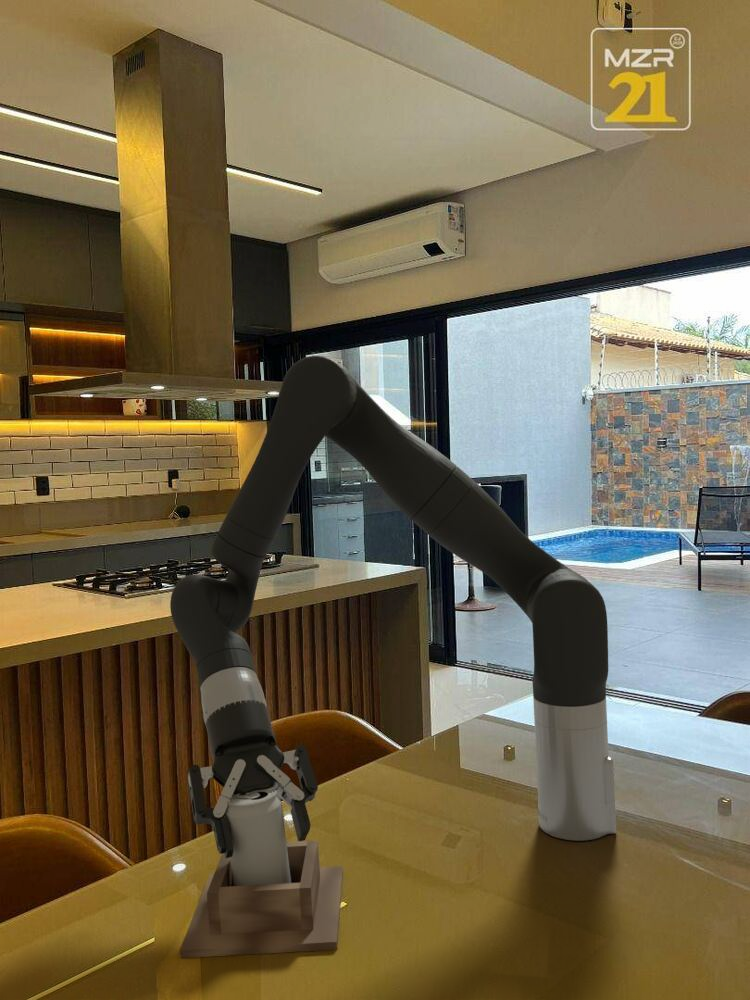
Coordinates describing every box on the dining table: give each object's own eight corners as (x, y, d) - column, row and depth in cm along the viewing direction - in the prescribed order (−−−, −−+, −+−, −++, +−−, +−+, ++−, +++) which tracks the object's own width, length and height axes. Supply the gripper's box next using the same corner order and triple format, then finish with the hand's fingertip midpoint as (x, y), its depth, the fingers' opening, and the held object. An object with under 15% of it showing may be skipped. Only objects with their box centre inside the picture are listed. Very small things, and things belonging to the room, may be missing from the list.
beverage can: (282, 913, 93) (269, 804, 93) (226, 914, 95) (213, 806, 94) (299, 885, 100) (287, 782, 99) (246, 886, 101) (234, 784, 101)
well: (343, 872, 104) (340, 829, 104) (337, 949, 88) (333, 899, 88) (210, 879, 104) (207, 837, 104) (180, 957, 88) (176, 907, 88)
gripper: (178, 708, 99) (204, 847, 89) (298, 689, 105) (335, 818, 95) (174, 740, 105) (199, 875, 95) (288, 720, 110) (323, 845, 100)
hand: (267, 846), depth 95 cm, fingers open, 8 cm apart
